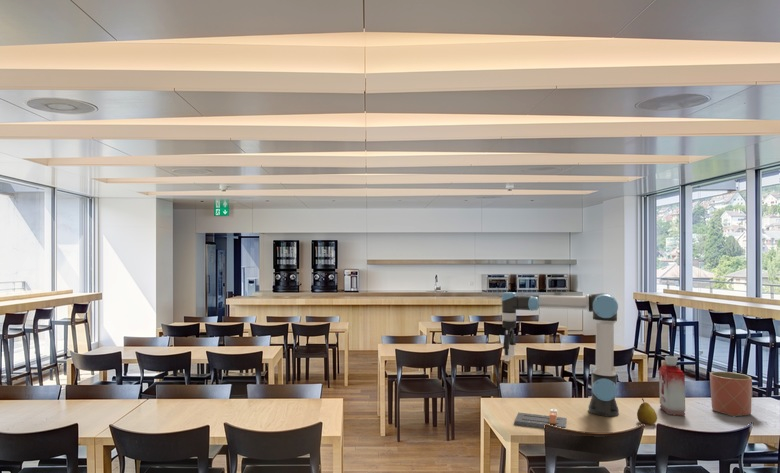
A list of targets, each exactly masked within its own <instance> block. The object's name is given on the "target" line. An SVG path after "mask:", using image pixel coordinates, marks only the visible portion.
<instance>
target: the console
mask: <svg viewBox="0 0 780 473" xmlns="http://www.w3.org/2000/svg"><path fill="white" fill-rule="evenodd" d="M567 420H568V419H567V417H563V416H562V417H561V416H557V420H556V424H553V423H549V415H546V414H544V415H543V414H537V413H536V414H534V413H526V412H518V413H517V415H516V417H515V419H514V426H518V427H519V426H520V427H521V426H522V427H527V428H528V427H530V428H538V429H544V425H545V424H550V425H553V426H557V427H561V428H566V429H567V422H568V421H567Z"/></svg>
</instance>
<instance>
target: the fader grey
mask: <svg viewBox="0 0 780 473" xmlns="http://www.w3.org/2000/svg"><path fill="white" fill-rule="evenodd" d="M549 411H550V412H549V414H550V413H556V420H557V417H558V409H556V408H550V410H549Z"/></svg>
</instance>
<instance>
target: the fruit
mask: <svg viewBox="0 0 780 473" xmlns="http://www.w3.org/2000/svg"><path fill="white" fill-rule="evenodd" d="M641 400H642V401H643V402H641V404H640V405H639V407H638V409H637V413H636V418H637V420H638V421H639V423H640V424H642V423H644V424H643V425H648V426H653V425H655V424H656V423H657V421H658V415H657V412H656V410H655V408H653V407H652V405H651V404H649V402H645V399H644V398H643V397H642V398H641Z"/></svg>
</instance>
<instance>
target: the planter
mask: <svg viewBox="0 0 780 473" xmlns="http://www.w3.org/2000/svg"><path fill="white" fill-rule="evenodd" d="M752 379H753V378H752V377H751V376H749V375H747V374H744V373H739V372H738V373H737V372H731V371H712V372H709V382H710V383H709V384H710V398H711V399H710V400H711V401H710V402H711V409H712V411H715V412H717V413H721V414H725V415H728V416H730V417H733V416H736V417H737V416H750V415H749V414H751V415H752V391H753V390H752V389H753V388H752V387H753V384H752V382H753V380H752Z"/></svg>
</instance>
